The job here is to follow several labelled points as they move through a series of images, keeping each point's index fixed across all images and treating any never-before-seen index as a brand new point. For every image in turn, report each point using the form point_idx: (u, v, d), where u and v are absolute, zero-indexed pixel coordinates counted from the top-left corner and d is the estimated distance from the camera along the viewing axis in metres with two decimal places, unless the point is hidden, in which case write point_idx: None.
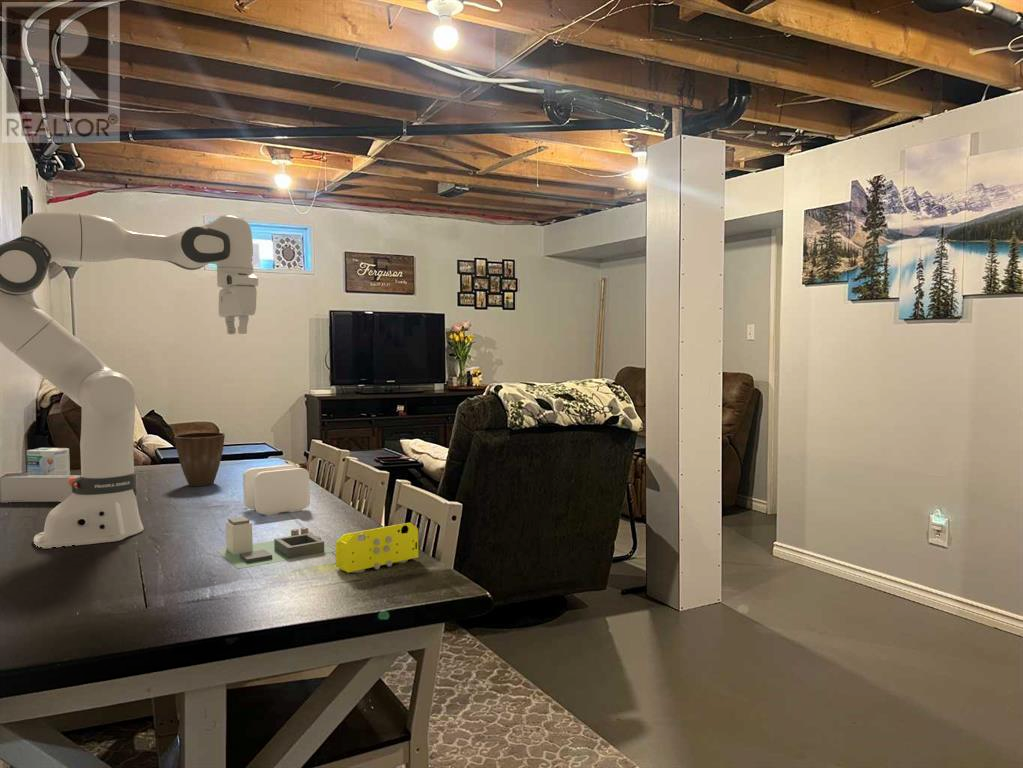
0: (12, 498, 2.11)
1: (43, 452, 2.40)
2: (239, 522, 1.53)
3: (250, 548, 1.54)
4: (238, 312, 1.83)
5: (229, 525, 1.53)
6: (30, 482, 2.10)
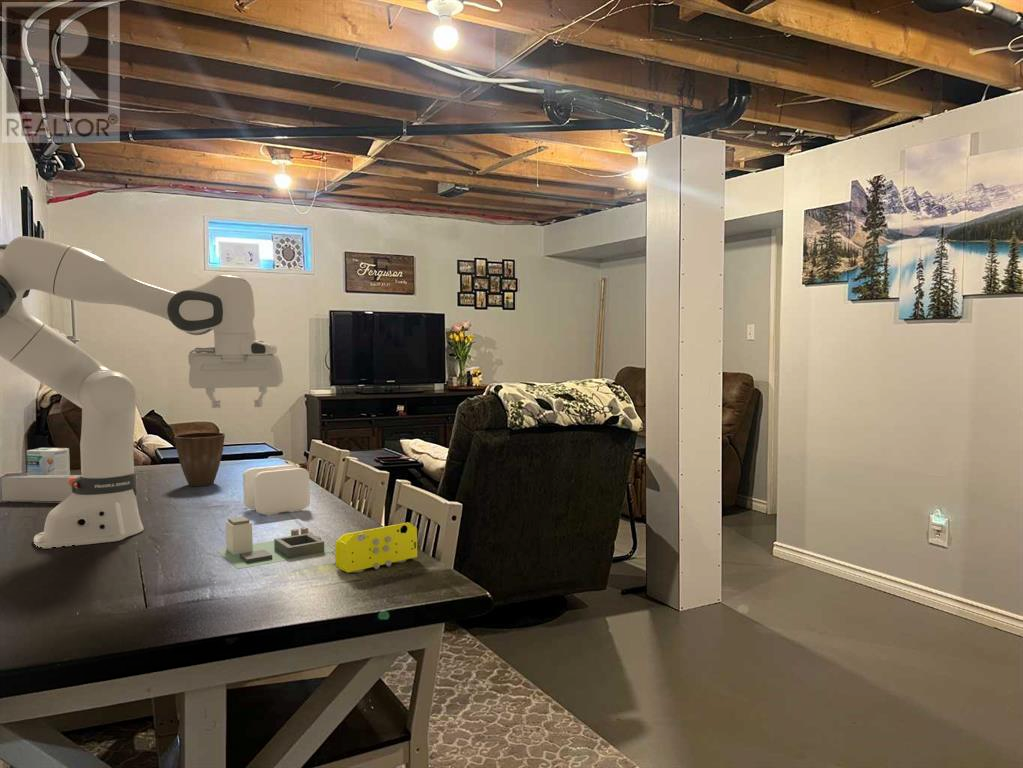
0: (13, 498, 2.11)
1: (43, 452, 2.40)
2: (239, 522, 1.53)
3: (250, 548, 1.54)
4: (269, 384, 1.67)
5: (229, 525, 1.53)
6: (31, 482, 2.11)
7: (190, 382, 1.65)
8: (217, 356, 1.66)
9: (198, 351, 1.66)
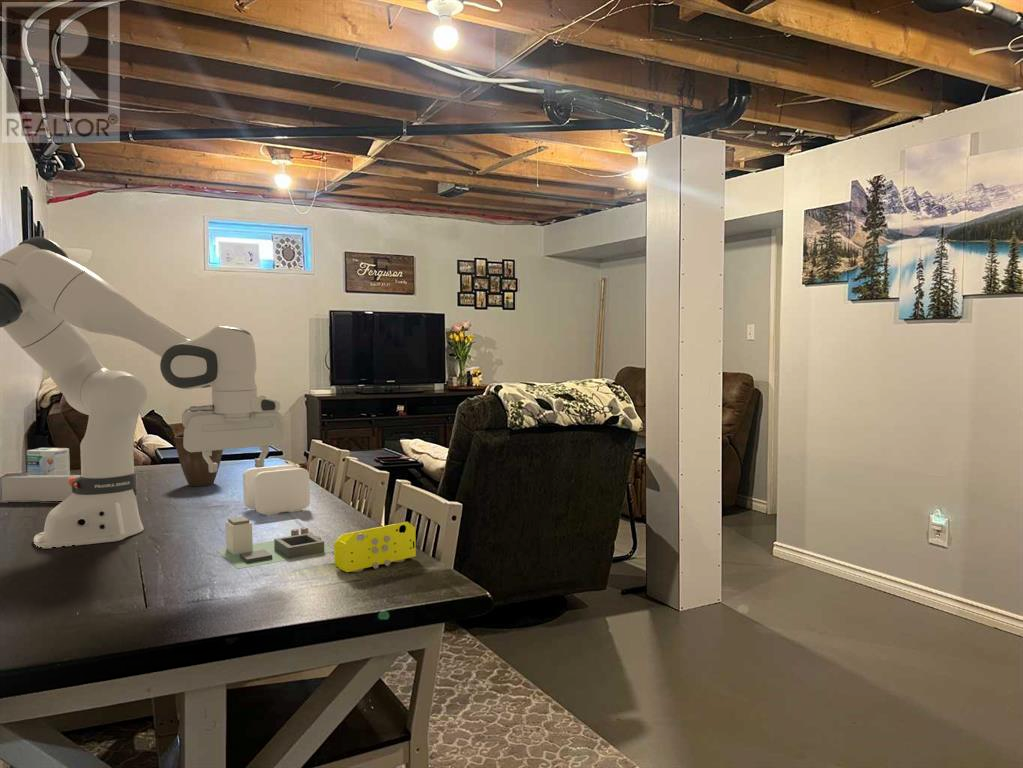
0: (13, 499, 2.11)
1: (43, 452, 2.40)
2: (239, 522, 1.53)
3: (250, 548, 1.54)
4: (276, 442, 1.57)
5: (229, 525, 1.53)
6: (32, 481, 2.11)
7: (189, 446, 1.47)
8: (219, 415, 1.50)
9: (194, 410, 1.48)
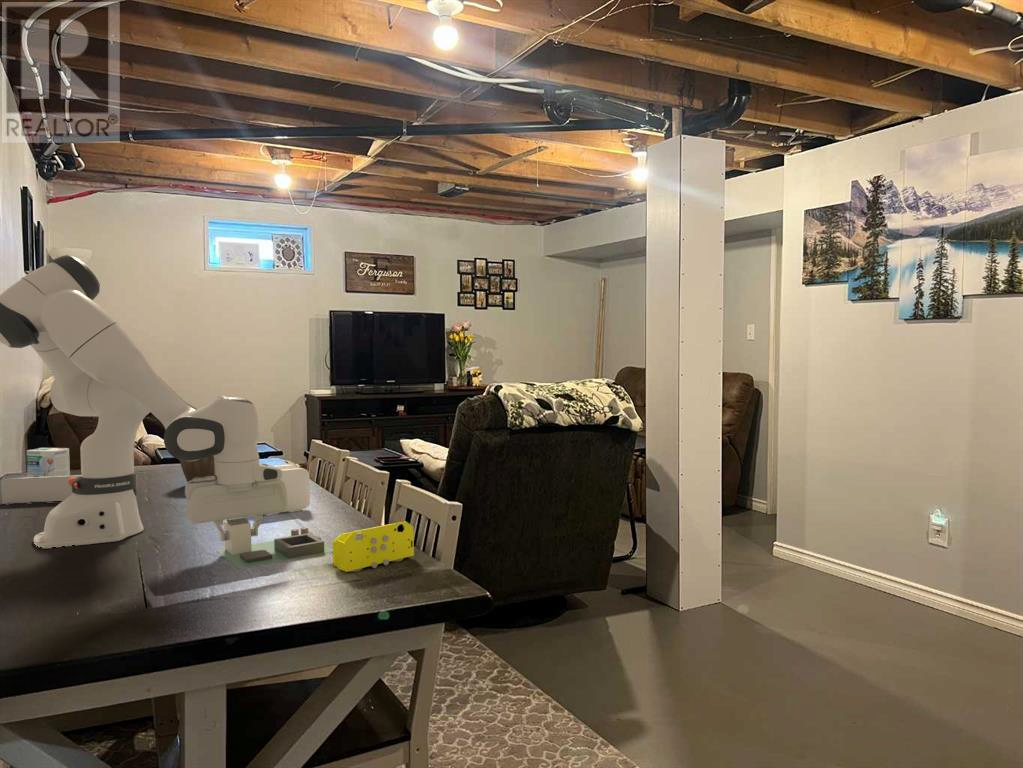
0: (15, 500, 2.09)
1: (43, 452, 2.40)
2: (238, 522, 1.53)
3: (249, 548, 1.54)
4: (278, 509, 1.58)
5: (228, 525, 1.53)
6: (36, 482, 2.10)
7: (192, 518, 1.48)
8: (222, 486, 1.51)
9: (197, 481, 1.49)
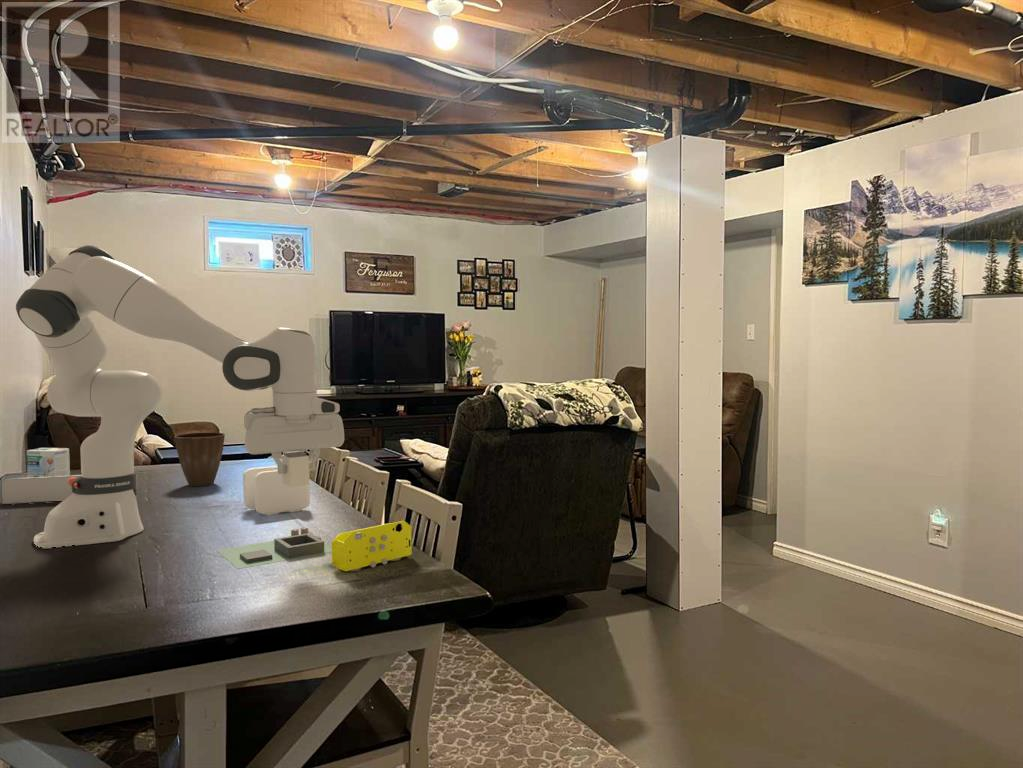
0: (16, 500, 2.09)
1: (43, 452, 2.40)
2: (296, 455, 1.51)
3: (307, 481, 1.52)
4: (334, 444, 1.56)
5: (286, 458, 1.52)
6: (37, 482, 2.10)
7: (251, 448, 1.46)
8: (281, 417, 1.49)
9: (256, 412, 1.48)
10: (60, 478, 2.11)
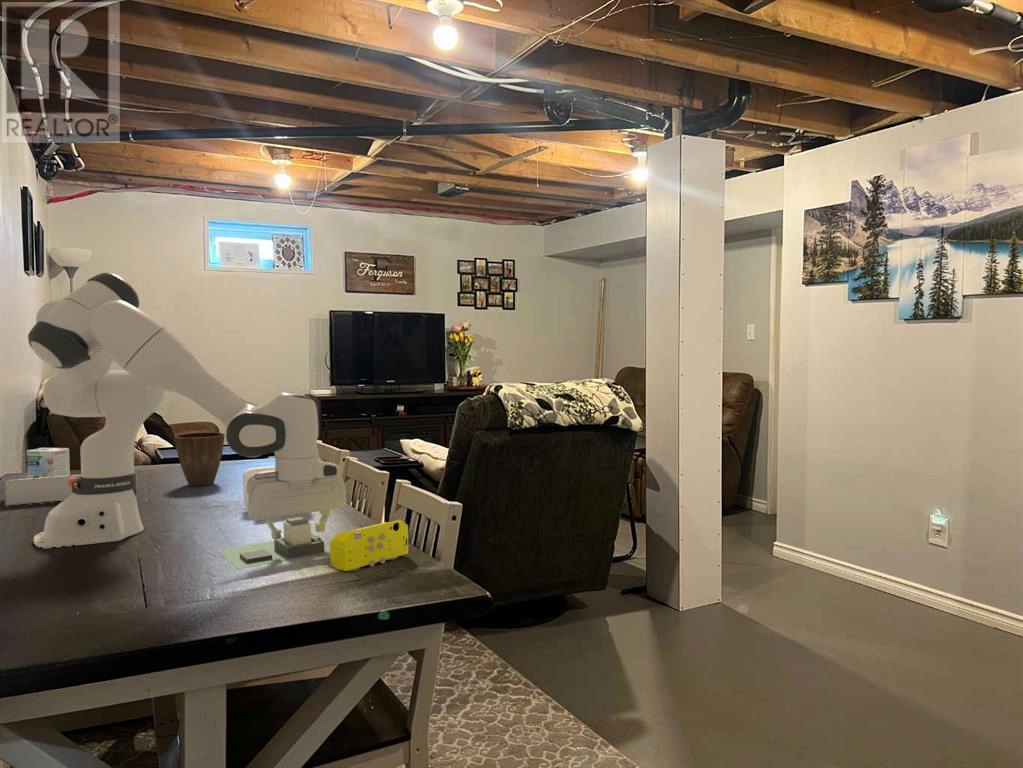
0: (20, 501, 2.07)
1: (43, 452, 2.40)
2: (298, 523, 1.52)
3: None
4: (336, 506, 1.57)
5: (288, 526, 1.53)
6: (42, 482, 2.09)
7: (254, 514, 1.47)
8: (283, 482, 1.50)
9: (259, 478, 1.49)
10: (65, 478, 2.12)
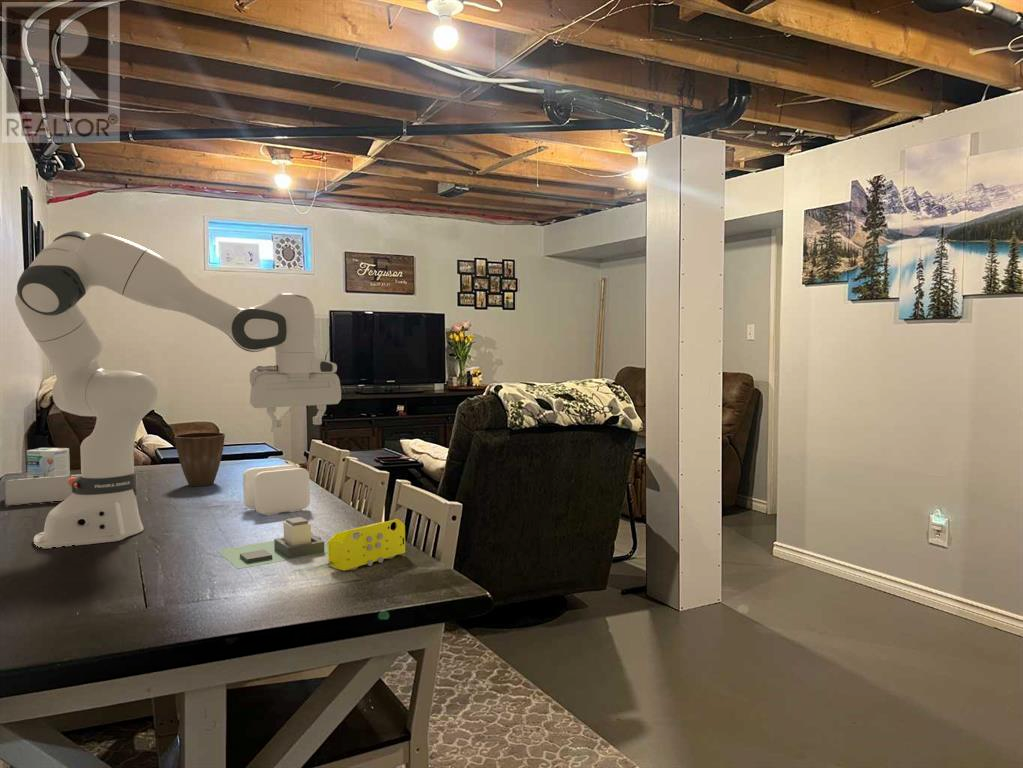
0: (20, 501, 2.07)
1: (43, 452, 2.40)
2: (298, 523, 1.52)
3: None
4: (332, 401, 1.70)
5: (288, 526, 1.53)
6: (42, 482, 2.10)
7: (256, 402, 1.60)
8: (283, 375, 1.63)
9: (261, 370, 1.62)
10: (66, 478, 2.12)
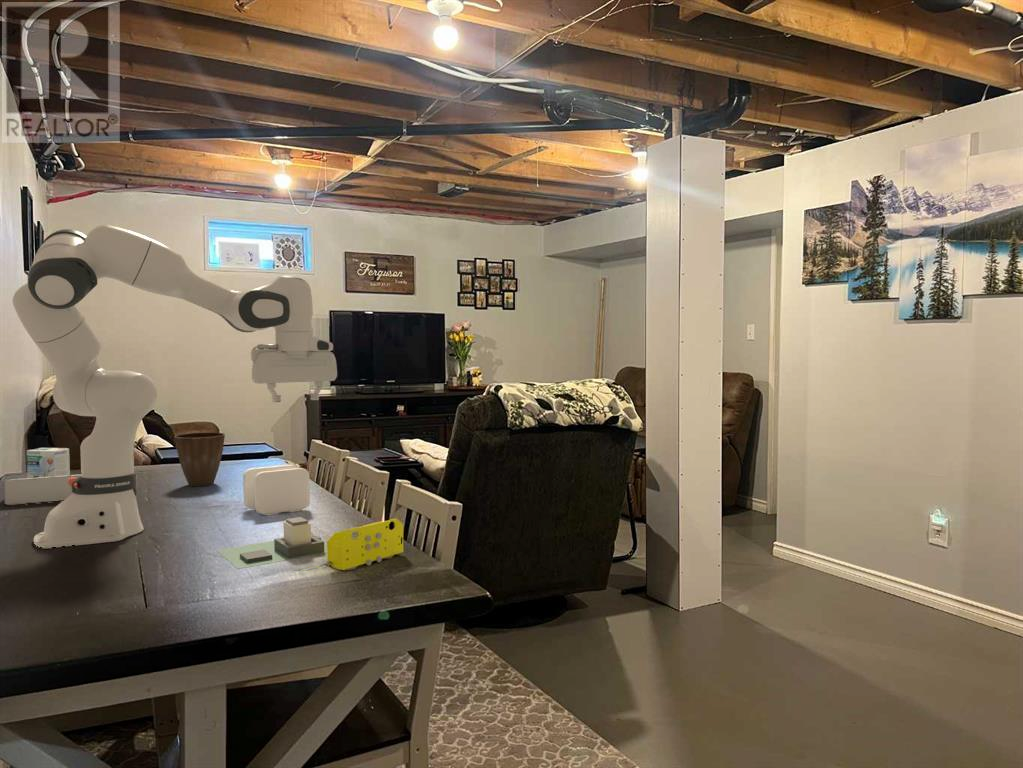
0: (19, 501, 2.08)
1: (43, 452, 2.40)
2: (298, 523, 1.52)
3: None
4: (329, 378, 1.81)
5: (288, 526, 1.53)
6: (41, 482, 2.10)
7: (257, 377, 1.71)
8: (282, 352, 1.74)
9: (261, 348, 1.73)
10: (65, 478, 2.12)
